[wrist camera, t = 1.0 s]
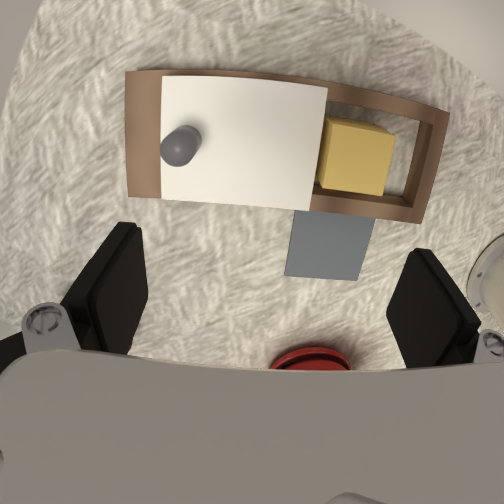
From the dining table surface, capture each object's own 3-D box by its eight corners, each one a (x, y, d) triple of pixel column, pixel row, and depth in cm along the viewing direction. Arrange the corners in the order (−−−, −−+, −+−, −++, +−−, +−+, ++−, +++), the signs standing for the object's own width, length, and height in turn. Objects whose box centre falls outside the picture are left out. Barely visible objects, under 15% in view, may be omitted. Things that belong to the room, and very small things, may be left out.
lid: (325, 87, 22) (337, 90, 18) (307, 206, 27) (314, 228, 23) (165, 75, 21) (149, 77, 18) (164, 194, 26) (151, 215, 23)
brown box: (436, 108, 24) (449, 112, 22) (411, 212, 30) (421, 224, 28) (136, 70, 23) (125, 71, 21) (137, 186, 29) (128, 196, 27)
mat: (375, 212, 30) (376, 214, 30) (356, 278, 34) (356, 280, 34) (296, 203, 30) (296, 204, 29) (284, 273, 34) (284, 275, 34)
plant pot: (340, 392, 46) (352, 459, 36) (257, 390, 45) (256, 461, 35) (369, 336, 39) (392, 413, 29) (269, 332, 39) (272, 417, 28)
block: (374, 124, 26) (395, 136, 21) (364, 175, 28) (382, 196, 24) (320, 114, 25) (333, 123, 21) (312, 168, 28) (322, 187, 24)
